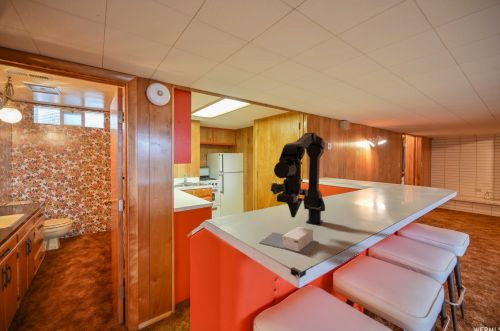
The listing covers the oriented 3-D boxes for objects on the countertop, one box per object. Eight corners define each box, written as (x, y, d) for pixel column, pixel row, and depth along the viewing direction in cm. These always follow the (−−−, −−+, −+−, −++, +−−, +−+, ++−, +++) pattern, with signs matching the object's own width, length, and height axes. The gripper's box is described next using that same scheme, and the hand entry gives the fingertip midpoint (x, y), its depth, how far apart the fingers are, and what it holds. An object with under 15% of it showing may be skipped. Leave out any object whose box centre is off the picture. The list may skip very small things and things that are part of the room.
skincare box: (298, 236, 80) (281, 248, 70) (298, 225, 79) (281, 235, 70) (314, 240, 76) (298, 253, 66) (313, 228, 75) (298, 239, 66)
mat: (273, 233, 85) (273, 232, 85) (318, 241, 75) (318, 241, 75) (259, 243, 74) (259, 242, 74) (309, 254, 65) (309, 254, 65)
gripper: (282, 174, 91) (282, 209, 91) (263, 177, 75) (263, 220, 75) (308, 175, 85) (308, 213, 85) (293, 178, 69) (292, 225, 69)
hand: (293, 217), depth 79 cm, fingers closed
